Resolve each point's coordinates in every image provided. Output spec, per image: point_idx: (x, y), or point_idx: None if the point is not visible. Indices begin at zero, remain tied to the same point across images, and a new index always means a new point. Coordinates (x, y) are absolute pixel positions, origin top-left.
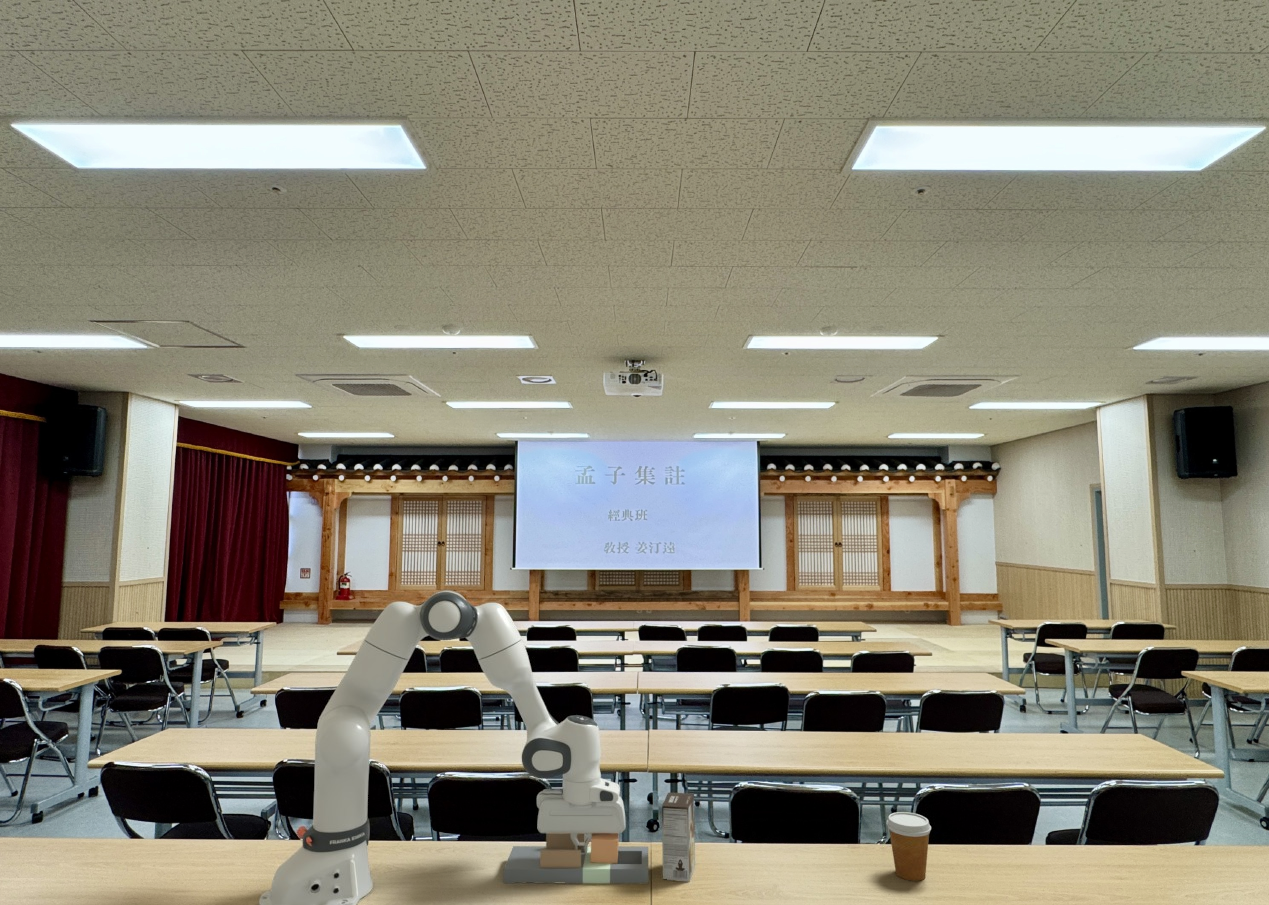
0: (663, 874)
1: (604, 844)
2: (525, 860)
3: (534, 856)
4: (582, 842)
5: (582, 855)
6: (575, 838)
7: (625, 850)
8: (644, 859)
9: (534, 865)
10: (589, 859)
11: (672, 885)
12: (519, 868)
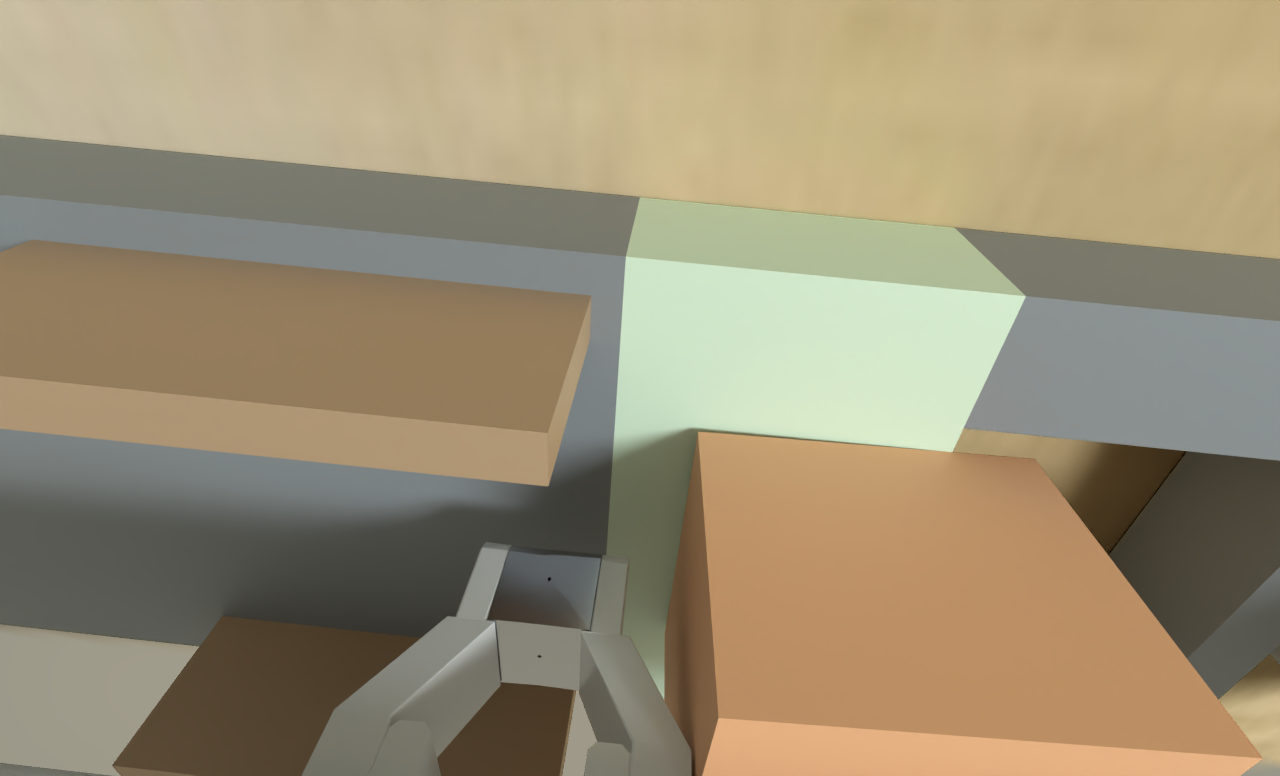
0: (1276, 660)
1: None
2: (16, 521)
3: (46, 457)
4: (548, 630)
5: (576, 492)
6: (432, 730)
7: (1156, 434)
8: (1243, 635)
9: (162, 604)
10: (656, 570)
11: (1253, 680)
12: (67, 625)
